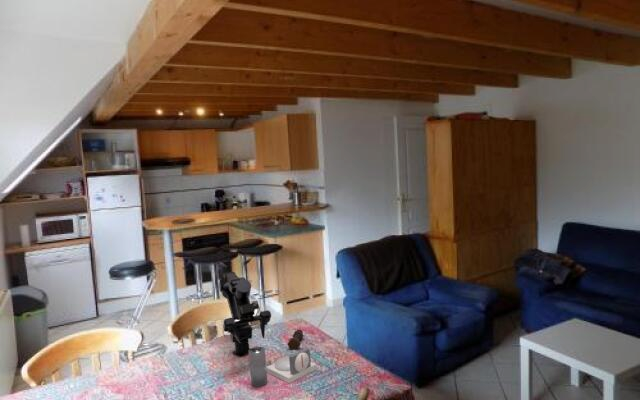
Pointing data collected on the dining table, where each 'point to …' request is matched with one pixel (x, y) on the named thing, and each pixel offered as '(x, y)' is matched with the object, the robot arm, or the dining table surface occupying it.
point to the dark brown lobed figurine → (295, 340)
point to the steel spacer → (258, 367)
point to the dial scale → (292, 366)
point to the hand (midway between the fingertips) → (252, 340)
